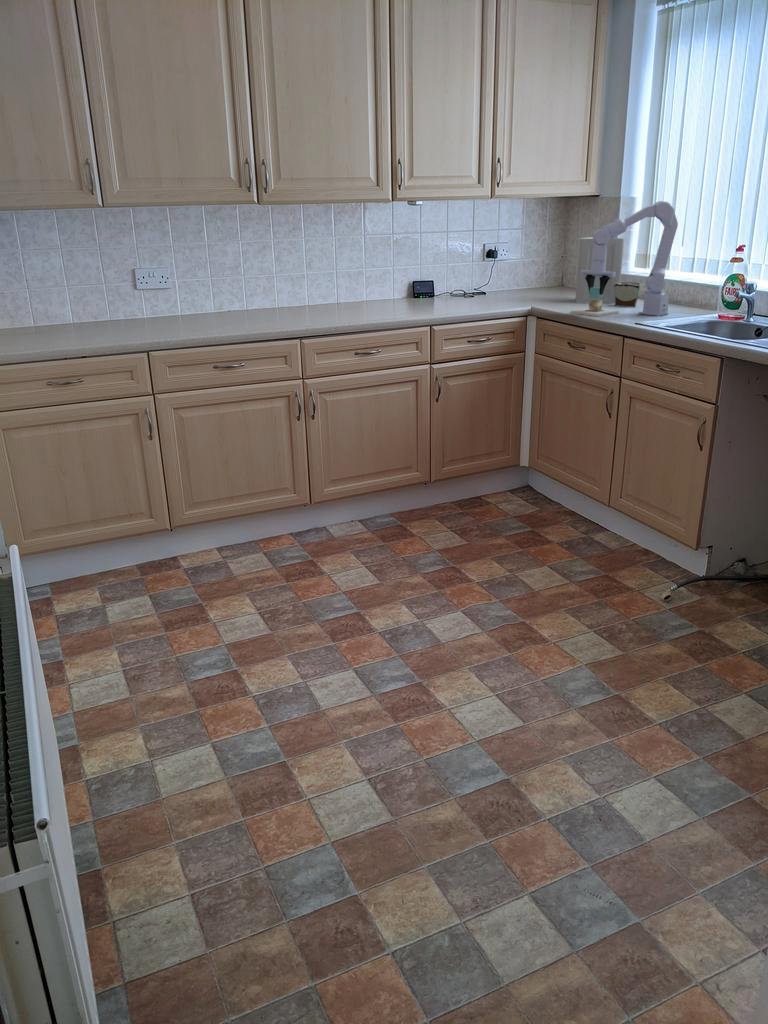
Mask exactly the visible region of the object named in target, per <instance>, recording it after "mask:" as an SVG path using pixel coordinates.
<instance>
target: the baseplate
mask: <svg viewBox="0 0 768 1024" xmlns="http://www.w3.org/2000/svg"><path fill="white" fill-rule="evenodd" d="M619 312H620V311H619V310H614V309H613V310H612V309H605V308H602V310H600V311H590V310H589V307H585V308H580V309H573V310H570V313H571V314H575V315H582V314H583V315H582V316H589V315H591V316H590V317H596V316H599V317H603V316H602V315H605V316H609V315H608V314H612V315H616V314H615V313H618V314H619Z"/></svg>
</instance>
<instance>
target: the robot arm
mask: <svg viewBox="0 0 768 1024" xmlns="http://www.w3.org/2000/svg"><path fill="white" fill-rule="evenodd" d="M646 218H657V220H659V221H660V223H661V224H662V226H663V230H662V234H661V237H660V241H659V245H658V249H657V253H656V256H655V259H654V263H653V266H652V268H651V270H650V273H649V275H648V276H647V278H646V279H645V286H646V289H645V290H644V299H643V307H642V311H639V312H637V313H638V314H640V315H649V316H655V317H657V316H658V317H659V316H666V315H669V312H668V311H669V301H670V296H669V294H668V293H664V290H663V289H665V285H666V283H665V278H666V277H665V276H666V268H667V264H668V262H669V261H668V260H669V257H670V254H671V250H672V246H673V244H674V240H675V237H676V233H677V230H678V226H679V223H678V218H677V216H676V212H675V208H674V206H673V205H672V204H671V203H670V202H669V201H663V200H659V201H657V202H655V203H651V204H649V205H647V206H645V207H643V208H642V209H640V210H638V211H636V212H635V213H633V214H632V215H630V216H627V217H626V218H624V219H623V218H618V219H617V218H615V219H613V221H612V222H611V223H608V224H607V225H603V226H602V229H597V230H596V231H594V234H593V236H592V237H593V240H594V244H593V253H592V266H591V270H581V275H587V276H586V277H585V279H586V281H587V284H588V287H589V294H590V288H592V287H594V281H595V277H596V276H602V277H600V278H599V279H600V295H602V294H603V292H604V289H605V286H606V284H607V282H608V281H609V279H610V277H615V274H616V272H610V271H605V268H606V256H607V242H608V241H609V239H613V238H617V237H618V236H619V235H622V234H624V233H626V232H627V229H628V227H629V226H632V225H634V224H636V223H638V222H639V221H642V220H644V219H646ZM596 274H601V275H596Z"/></svg>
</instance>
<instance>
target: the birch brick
mask: <svg viewBox="0 0 768 1024" xmlns="http://www.w3.org/2000/svg"><path fill="white" fill-rule="evenodd" d="M588 308H589V310H590V311H600V310H602V309H603V303H602V300H590V301H589V303H588Z"/></svg>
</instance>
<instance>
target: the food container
mask: <svg viewBox="0 0 768 1024" xmlns="http://www.w3.org/2000/svg"><path fill="white" fill-rule="evenodd" d="M614 287H615V303H614V306H615V305H619V306H618V307H626V306H633V307H632V308H636V307H635V306H637V302H638V298H639V292H640V290H641V288H642V287H641V283H640V282H636V281H620V282H615V284H614Z"/></svg>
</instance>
